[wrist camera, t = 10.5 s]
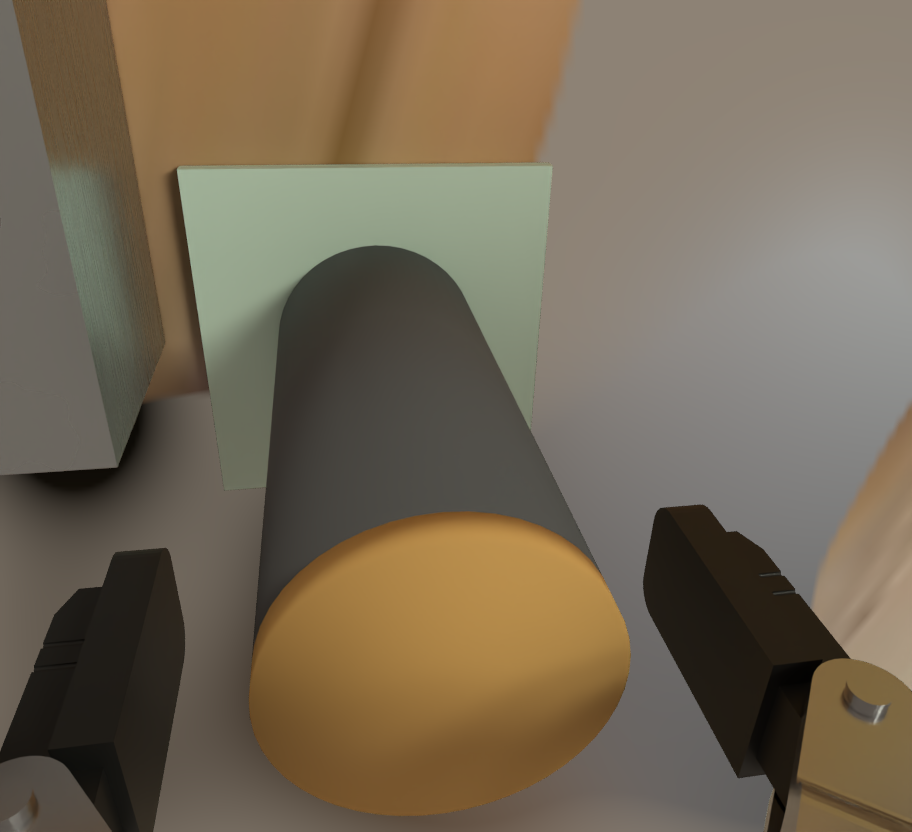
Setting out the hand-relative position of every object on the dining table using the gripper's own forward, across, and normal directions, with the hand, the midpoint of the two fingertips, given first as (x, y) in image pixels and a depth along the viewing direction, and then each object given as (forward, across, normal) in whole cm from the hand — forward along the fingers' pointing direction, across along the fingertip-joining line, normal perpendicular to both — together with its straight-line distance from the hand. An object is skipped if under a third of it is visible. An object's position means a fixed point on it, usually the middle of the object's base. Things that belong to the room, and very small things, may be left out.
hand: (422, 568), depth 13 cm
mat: (+10, 0, 0) cm, 10 cm away
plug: (+9, 0, 0) cm, 9 cm away
